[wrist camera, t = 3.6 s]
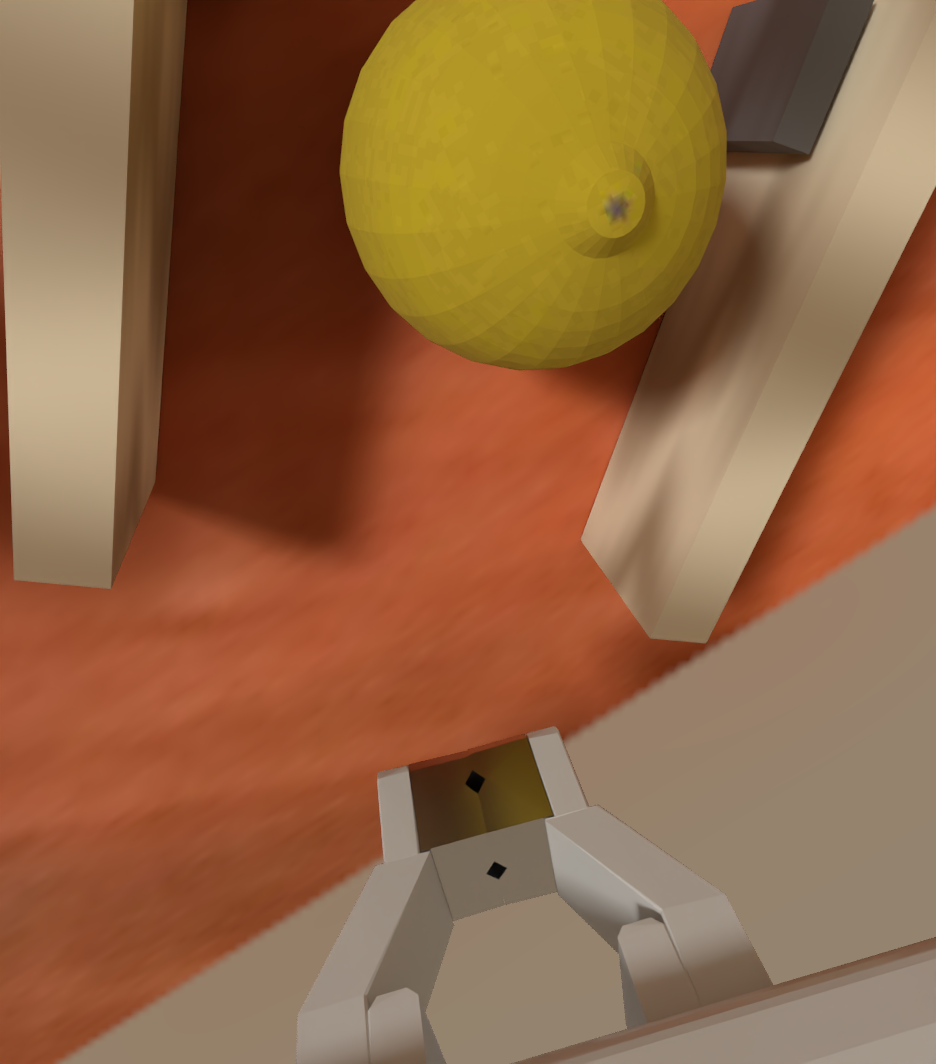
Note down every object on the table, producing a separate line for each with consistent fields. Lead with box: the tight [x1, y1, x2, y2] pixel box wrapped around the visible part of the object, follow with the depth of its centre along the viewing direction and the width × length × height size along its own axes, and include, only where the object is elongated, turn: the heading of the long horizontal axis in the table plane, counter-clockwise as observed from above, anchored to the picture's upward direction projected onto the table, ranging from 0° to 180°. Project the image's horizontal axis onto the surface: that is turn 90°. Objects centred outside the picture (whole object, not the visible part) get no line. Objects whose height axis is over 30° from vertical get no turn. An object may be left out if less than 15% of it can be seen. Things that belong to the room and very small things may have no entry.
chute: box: [0, 0, 936, 643], centre depth 13 cm, size 14×14×4 cm
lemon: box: [340, 0, 727, 370], centre depth 11 cm, size 6×6×8 cm
